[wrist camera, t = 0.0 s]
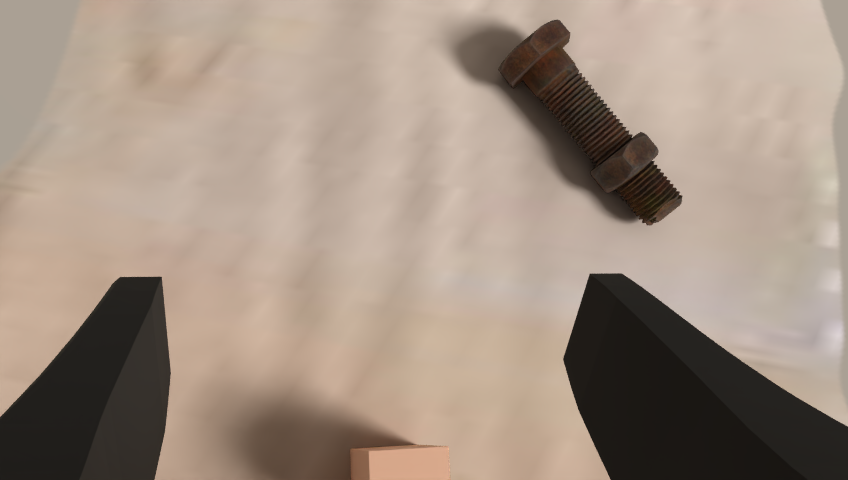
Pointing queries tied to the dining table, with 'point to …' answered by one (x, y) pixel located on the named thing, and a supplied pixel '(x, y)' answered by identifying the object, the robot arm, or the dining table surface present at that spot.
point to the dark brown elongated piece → (592, 123)
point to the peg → (400, 463)
